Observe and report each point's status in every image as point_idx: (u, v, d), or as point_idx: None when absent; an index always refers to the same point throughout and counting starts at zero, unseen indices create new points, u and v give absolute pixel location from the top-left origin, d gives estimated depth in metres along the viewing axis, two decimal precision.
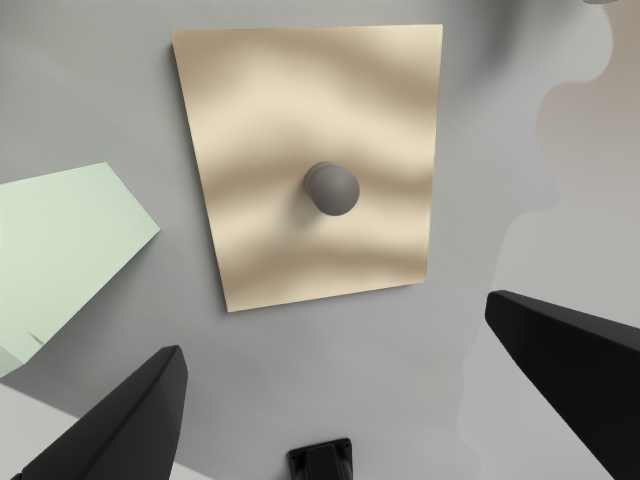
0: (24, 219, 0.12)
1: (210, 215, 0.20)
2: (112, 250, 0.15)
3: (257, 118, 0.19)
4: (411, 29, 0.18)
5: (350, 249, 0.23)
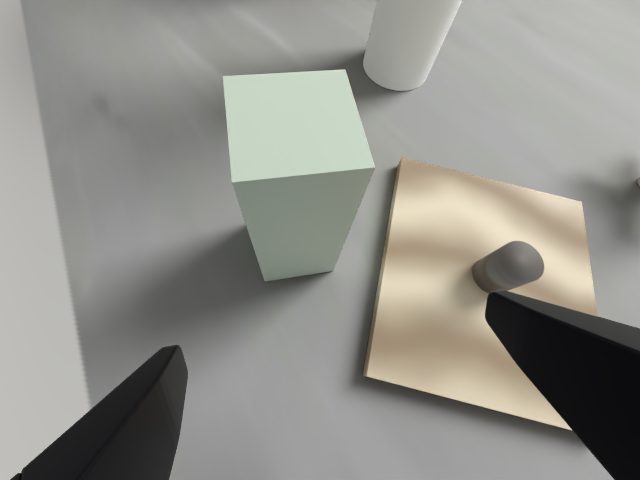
0: None
1: (386, 267, 0.22)
2: None
3: (443, 213, 0.25)
4: (558, 198, 0.26)
5: None
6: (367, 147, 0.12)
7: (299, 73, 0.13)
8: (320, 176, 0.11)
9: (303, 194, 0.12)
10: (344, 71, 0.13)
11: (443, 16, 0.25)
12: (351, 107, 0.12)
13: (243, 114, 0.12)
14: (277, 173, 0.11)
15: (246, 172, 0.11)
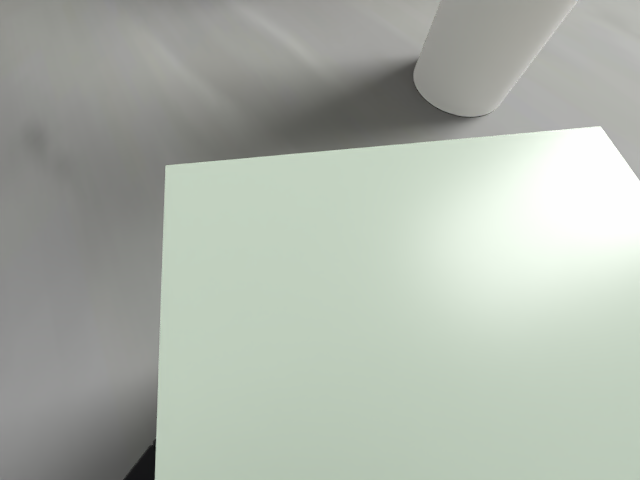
0: None
1: None
2: None
3: None
4: None
5: None
6: None
7: (453, 144, 0.03)
8: None
9: None
10: (600, 134, 0.04)
11: (562, 7, 0.16)
12: None
13: (246, 381, 0.02)
14: None
15: None
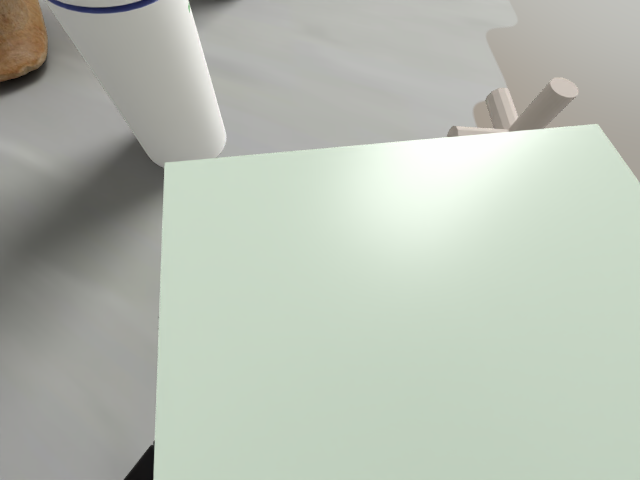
0: None
1: None
2: None
3: None
4: None
5: None
6: None
7: (451, 142, 0.04)
8: None
9: None
10: (597, 131, 0.04)
11: (185, 92, 0.20)
12: None
13: (245, 375, 0.02)
14: None
15: None
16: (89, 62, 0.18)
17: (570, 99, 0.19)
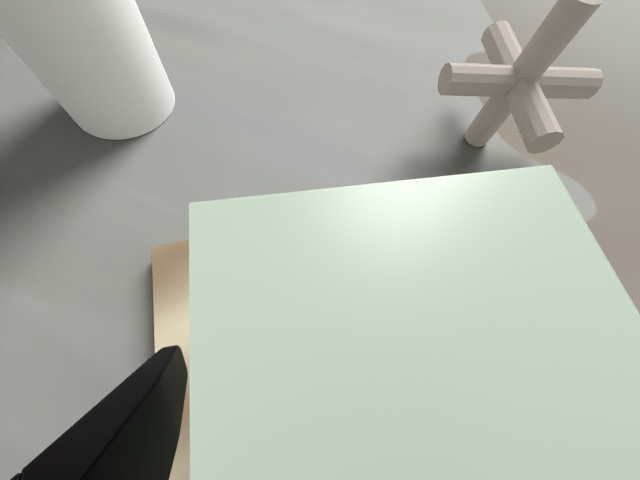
0: None
1: None
2: None
3: None
4: None
5: None
6: None
7: (425, 182, 0.04)
8: None
9: None
10: (550, 171, 0.04)
11: (99, 22, 0.15)
12: (621, 313, 0.04)
13: (257, 378, 0.03)
14: None
15: None
16: None
17: (594, 8, 0.15)
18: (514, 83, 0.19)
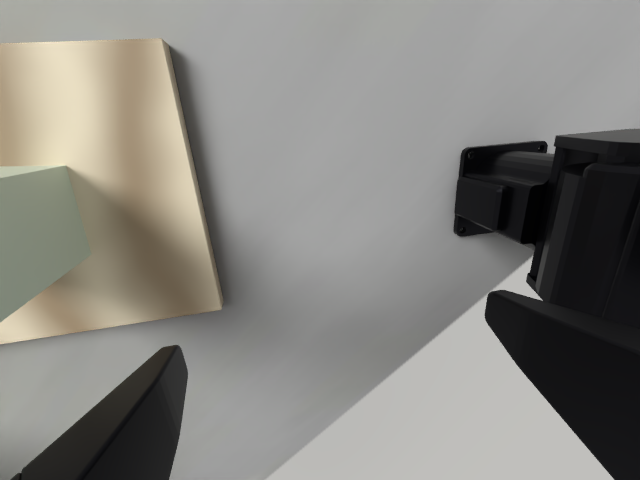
0: None
1: (101, 326, 0.20)
2: None
3: None
4: None
5: (118, 174, 0.17)
6: None
7: None
8: None
9: None
10: None
11: None
12: None
13: None
14: None
15: None
16: None
17: None
18: None
